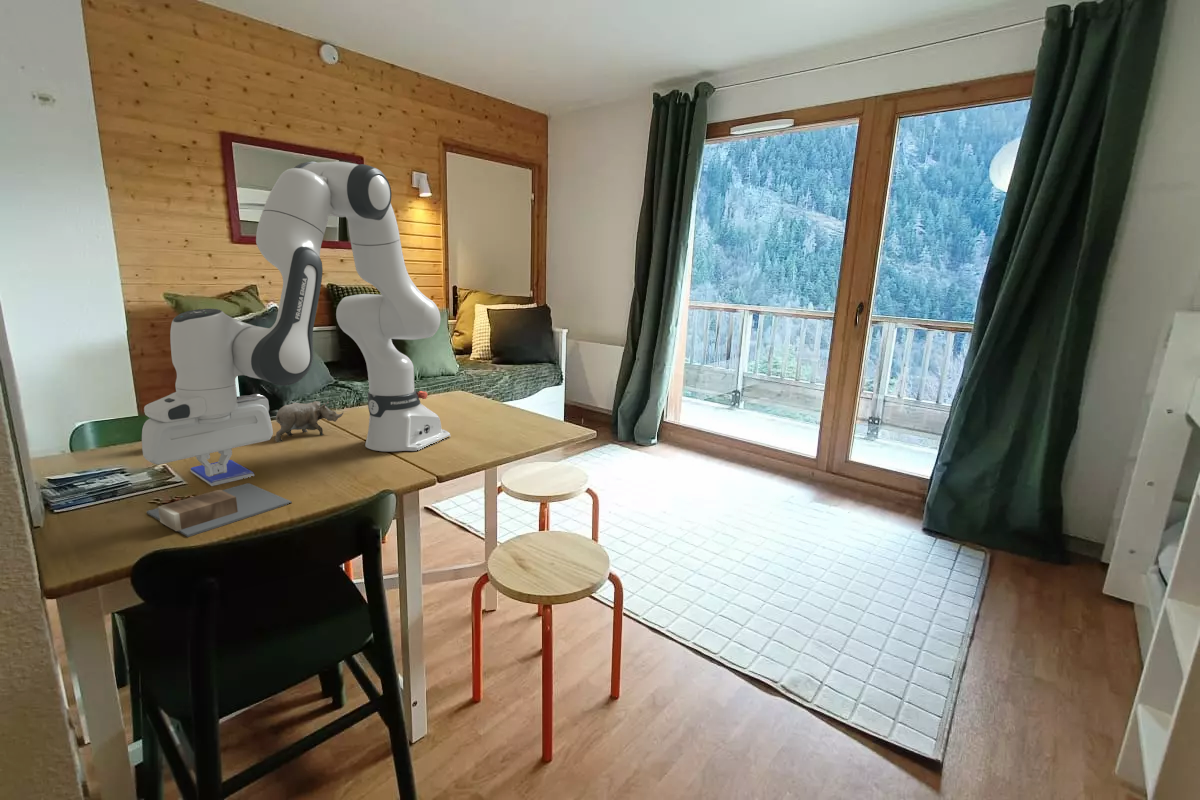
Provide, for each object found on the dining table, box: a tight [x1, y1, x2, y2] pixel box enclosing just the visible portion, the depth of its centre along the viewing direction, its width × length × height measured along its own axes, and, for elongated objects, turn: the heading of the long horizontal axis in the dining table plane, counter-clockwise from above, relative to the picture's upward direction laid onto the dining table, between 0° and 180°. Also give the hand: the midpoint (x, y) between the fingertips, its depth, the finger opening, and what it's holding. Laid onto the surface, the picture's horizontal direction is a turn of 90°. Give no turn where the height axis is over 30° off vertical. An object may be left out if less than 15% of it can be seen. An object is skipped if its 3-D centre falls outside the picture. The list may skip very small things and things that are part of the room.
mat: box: [146, 482, 292, 538], centre depth 108 cm, size 18×16×1 cm
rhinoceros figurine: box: [274, 400, 344, 443], centre depth 154 cm, size 8×14×15 cm
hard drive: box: [190, 459, 255, 487], centre depth 125 cm, size 2×8×12 cm
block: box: [157, 489, 238, 532], centre depth 103 cm, size 3×6×10 cm
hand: (216, 474), depth 104 cm, fingers closed
